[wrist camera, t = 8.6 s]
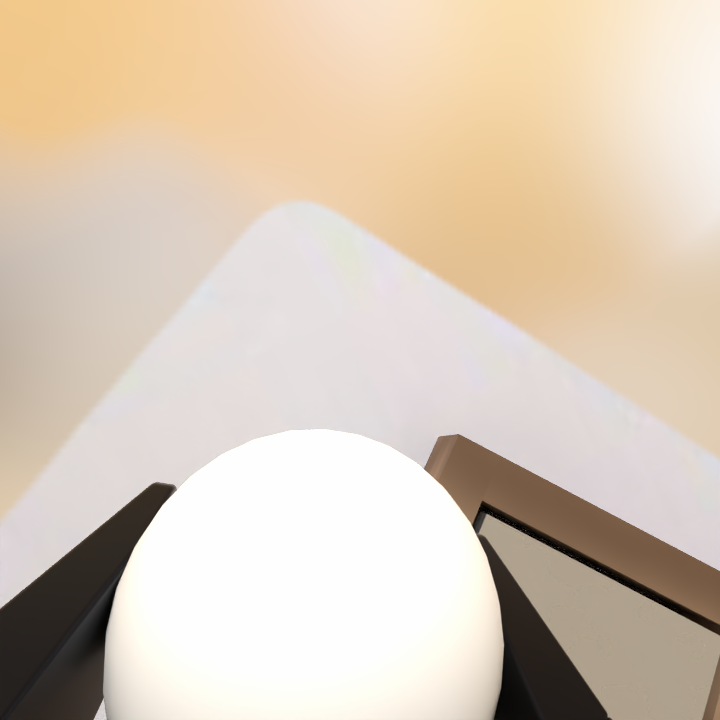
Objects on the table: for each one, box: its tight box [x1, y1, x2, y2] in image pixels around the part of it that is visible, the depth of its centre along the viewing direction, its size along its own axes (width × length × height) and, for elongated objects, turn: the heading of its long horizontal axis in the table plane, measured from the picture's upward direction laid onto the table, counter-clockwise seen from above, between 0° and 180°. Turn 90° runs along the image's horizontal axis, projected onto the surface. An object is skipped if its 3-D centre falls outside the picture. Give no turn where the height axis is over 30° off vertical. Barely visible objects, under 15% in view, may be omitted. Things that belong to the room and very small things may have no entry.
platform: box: [472, 511, 720, 720], centre depth 19 cm, size 11×11×2 cm
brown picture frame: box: [424, 434, 720, 720], centre depth 19 cm, size 16×16×3 cm
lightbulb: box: [103, 429, 504, 720], centre depth 10 cm, size 6×6×11 cm
